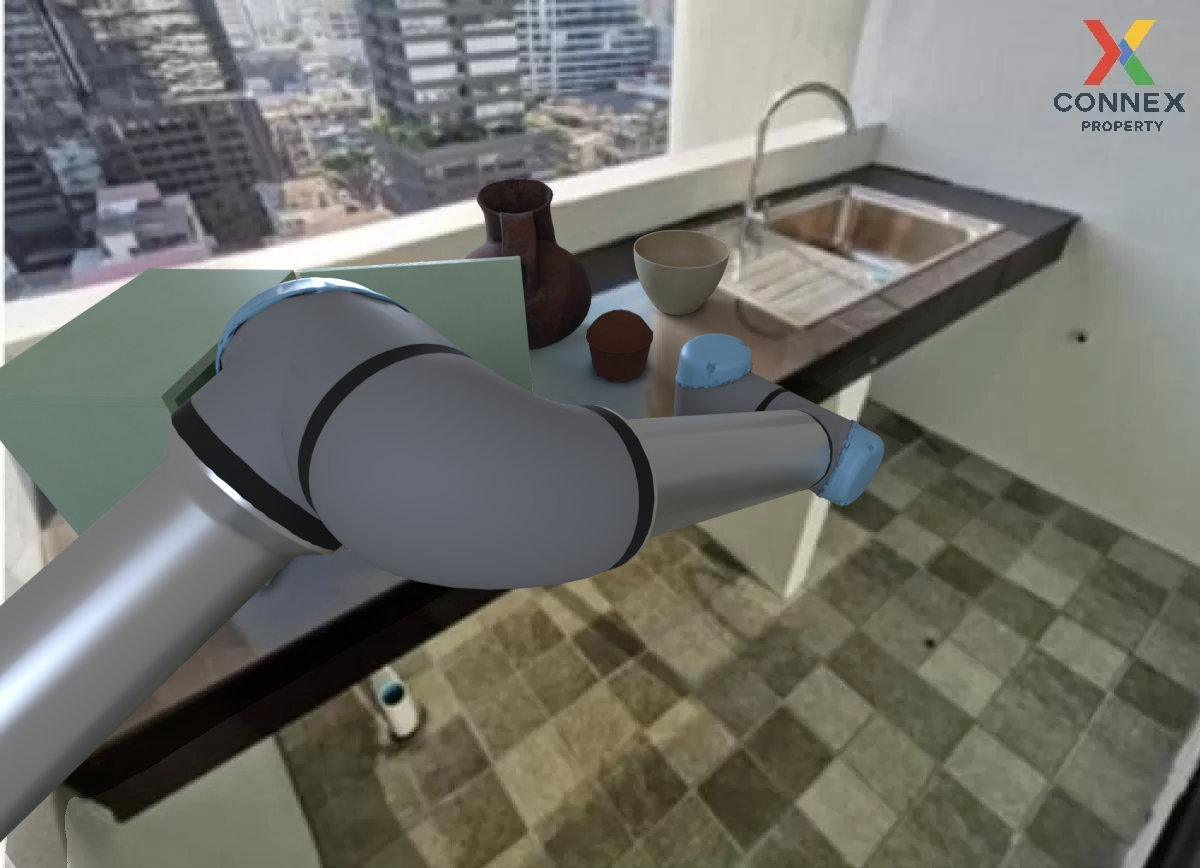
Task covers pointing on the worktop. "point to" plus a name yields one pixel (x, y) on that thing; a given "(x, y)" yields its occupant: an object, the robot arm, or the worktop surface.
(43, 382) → the cupboard
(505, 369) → the cupboard door
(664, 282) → the beige bowl
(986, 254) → the worktop surface
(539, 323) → the jug
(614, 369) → the muffin
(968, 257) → the worktop surface
